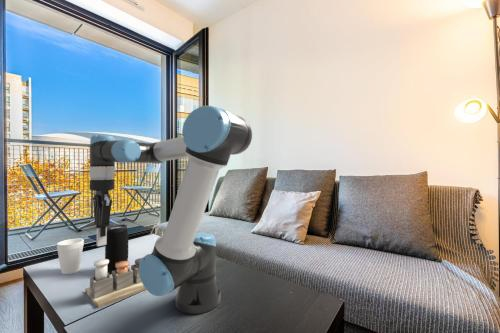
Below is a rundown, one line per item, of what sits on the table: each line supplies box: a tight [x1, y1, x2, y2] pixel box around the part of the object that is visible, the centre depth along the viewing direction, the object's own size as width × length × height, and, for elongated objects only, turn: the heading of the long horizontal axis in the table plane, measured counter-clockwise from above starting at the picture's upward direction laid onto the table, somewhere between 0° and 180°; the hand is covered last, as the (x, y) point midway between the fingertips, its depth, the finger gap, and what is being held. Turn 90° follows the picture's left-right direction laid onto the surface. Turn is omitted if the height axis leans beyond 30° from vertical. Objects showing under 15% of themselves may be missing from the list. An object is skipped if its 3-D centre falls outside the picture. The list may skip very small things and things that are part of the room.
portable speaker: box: [104, 224, 129, 275], centre depth 105 cm, size 9×9×20 cm
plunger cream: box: [93, 258, 109, 282], centre depth 84 cm, size 5×5×7 cm
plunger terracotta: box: [116, 260, 130, 275], centre depth 89 cm, size 5×5×7 cm
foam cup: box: [56, 237, 85, 275], centre depth 104 cm, size 10×9×13 cm
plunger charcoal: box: [134, 257, 143, 269], centre depth 94 cm, size 5×5×7 cm
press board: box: [84, 263, 147, 309], centre depth 89 cm, size 15×20×7 cm
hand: (101, 244), depth 84 cm, fingers closed
